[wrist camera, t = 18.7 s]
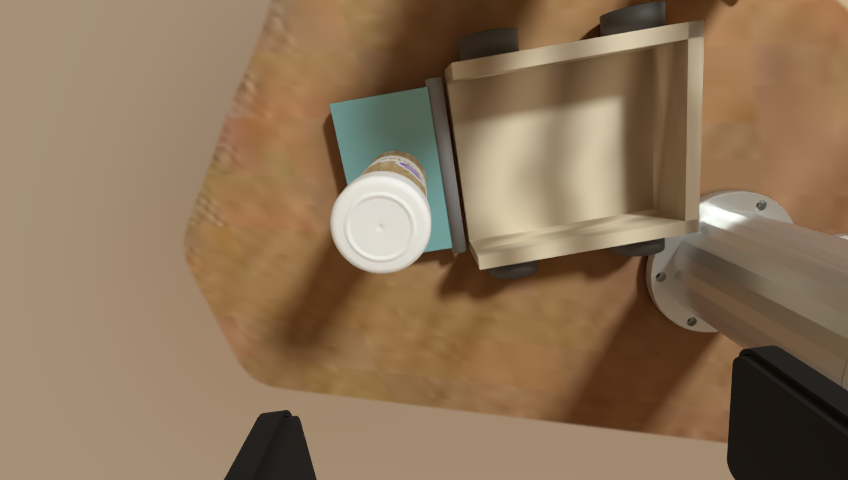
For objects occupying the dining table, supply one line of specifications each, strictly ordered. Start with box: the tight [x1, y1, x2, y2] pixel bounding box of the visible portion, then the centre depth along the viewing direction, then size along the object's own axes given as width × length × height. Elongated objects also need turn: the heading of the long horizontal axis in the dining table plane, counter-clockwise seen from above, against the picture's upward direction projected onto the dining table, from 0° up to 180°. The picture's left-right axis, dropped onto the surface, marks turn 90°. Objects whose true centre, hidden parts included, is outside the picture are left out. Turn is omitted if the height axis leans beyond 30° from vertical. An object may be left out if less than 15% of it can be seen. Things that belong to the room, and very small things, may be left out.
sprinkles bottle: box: [330, 151, 431, 274], centre depth 25 cm, size 5×5×13 cm
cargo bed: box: [444, 1, 704, 279], centre depth 31 cm, size 16×17×5 cm
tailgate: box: [330, 77, 466, 253], centre depth 32 cm, size 1×13×8 cm
